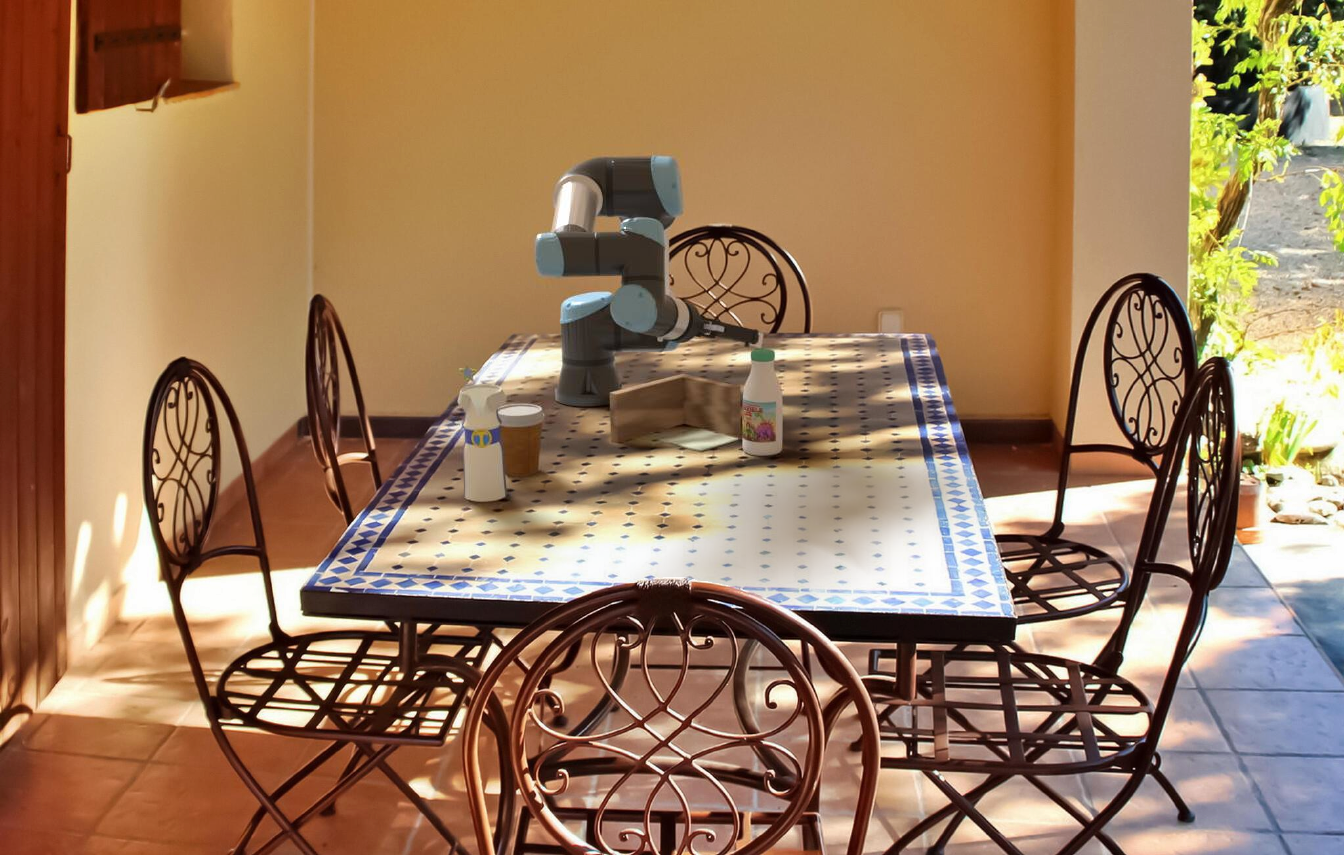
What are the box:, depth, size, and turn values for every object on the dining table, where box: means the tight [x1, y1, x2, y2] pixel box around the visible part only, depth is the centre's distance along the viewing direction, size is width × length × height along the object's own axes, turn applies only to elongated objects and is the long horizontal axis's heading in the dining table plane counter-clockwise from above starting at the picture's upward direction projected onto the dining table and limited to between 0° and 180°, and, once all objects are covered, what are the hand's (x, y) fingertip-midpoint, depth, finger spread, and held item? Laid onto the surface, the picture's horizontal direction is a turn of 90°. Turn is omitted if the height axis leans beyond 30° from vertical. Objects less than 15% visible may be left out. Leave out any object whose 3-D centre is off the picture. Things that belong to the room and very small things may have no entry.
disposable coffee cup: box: [498, 403, 545, 477], centre depth 267 cm, size 10×10×12 cm
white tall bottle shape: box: [457, 362, 508, 502], centre depth 253 cm, size 8×9×25 cm
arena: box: [609, 373, 742, 453], centre depth 287 cm, size 18×21×10 cm
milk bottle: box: [742, 348, 783, 457], centre depth 277 cm, size 8×8×20 cm
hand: (729, 336), depth 272 cm, fingers open, 13 cm apart
